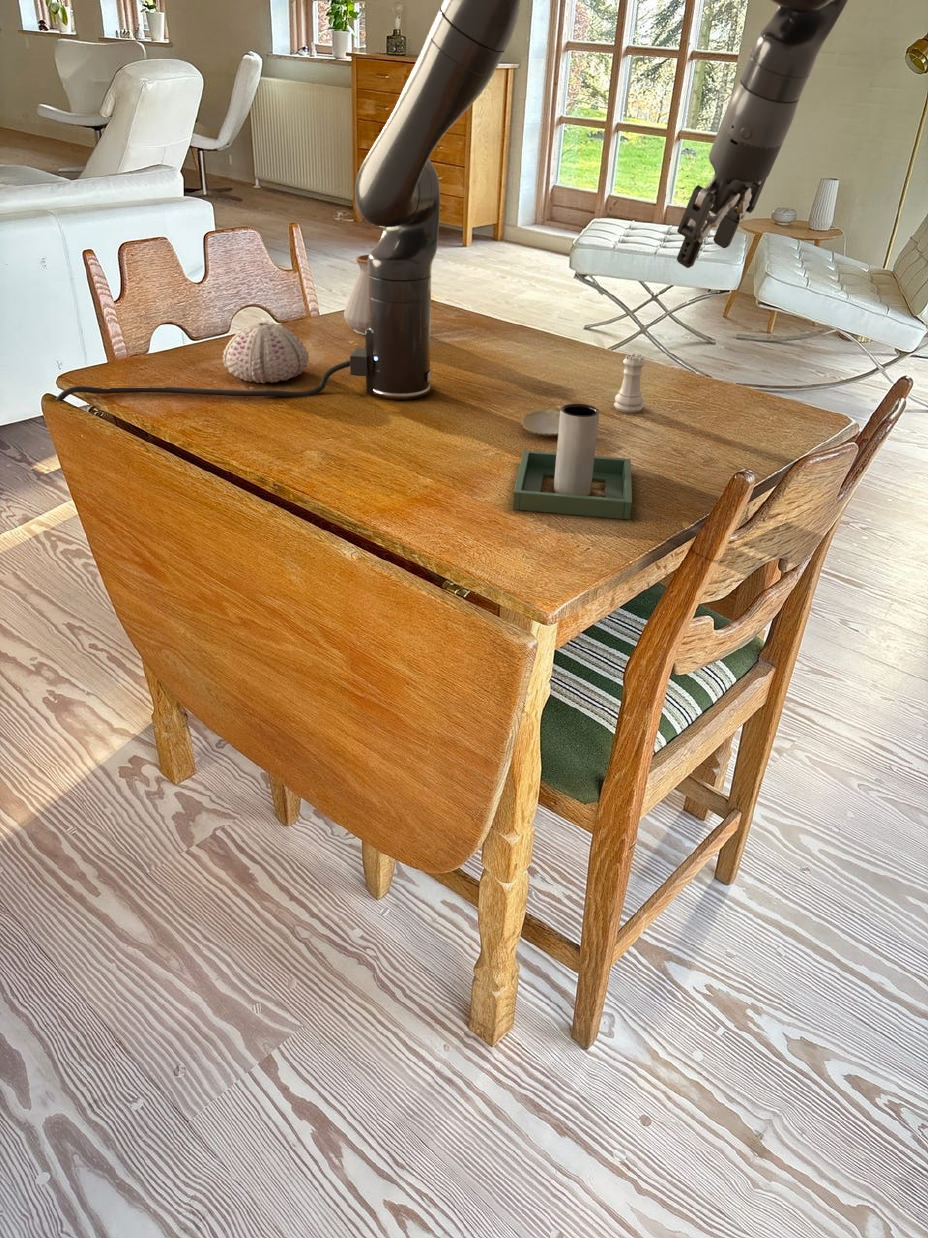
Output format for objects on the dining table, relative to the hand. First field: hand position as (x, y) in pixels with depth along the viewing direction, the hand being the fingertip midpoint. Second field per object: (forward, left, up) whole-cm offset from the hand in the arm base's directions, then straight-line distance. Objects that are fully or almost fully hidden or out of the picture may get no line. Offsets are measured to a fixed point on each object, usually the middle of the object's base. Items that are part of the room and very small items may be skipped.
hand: (702, 254), depth 123 cm
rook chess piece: (-7, +9, -24) cm, 27 cm away
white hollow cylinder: (-14, -24, -24) cm, 37 cm away
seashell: (-18, -4, -24) cm, 30 cm away
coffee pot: (-50, +39, -24) cm, 67 cm away
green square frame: (-14, -24, -24) cm, 37 cm away
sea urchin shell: (-64, +12, -24) cm, 69 cm away
